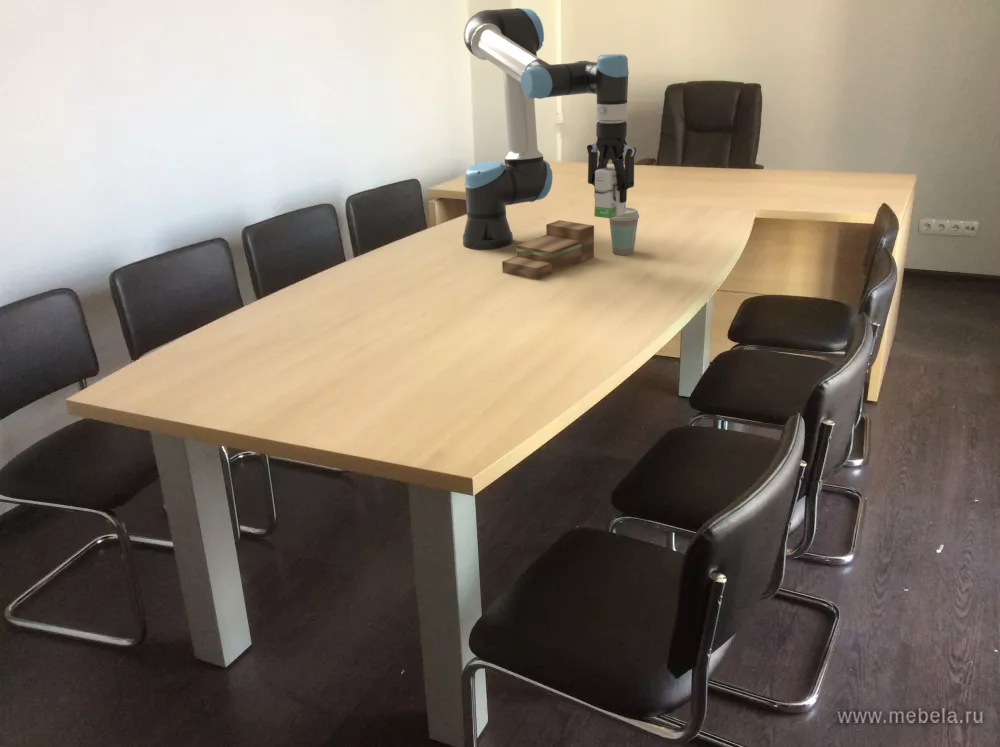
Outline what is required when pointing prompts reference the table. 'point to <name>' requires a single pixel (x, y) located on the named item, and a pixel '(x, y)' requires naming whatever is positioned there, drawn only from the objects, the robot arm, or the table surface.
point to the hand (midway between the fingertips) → (610, 213)
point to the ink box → (606, 192)
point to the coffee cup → (624, 232)
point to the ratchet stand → (552, 250)
